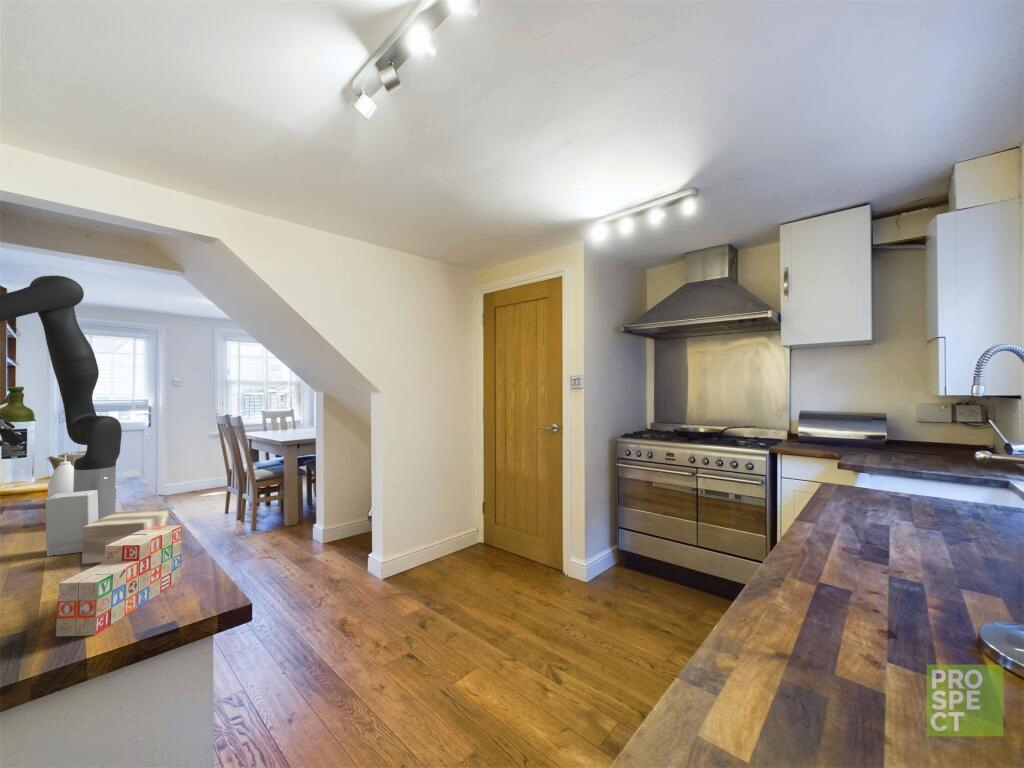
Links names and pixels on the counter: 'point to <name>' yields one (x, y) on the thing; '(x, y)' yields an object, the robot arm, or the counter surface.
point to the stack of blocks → (120, 581)
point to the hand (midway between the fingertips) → (9, 445)
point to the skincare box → (69, 520)
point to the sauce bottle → (61, 479)
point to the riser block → (117, 530)
